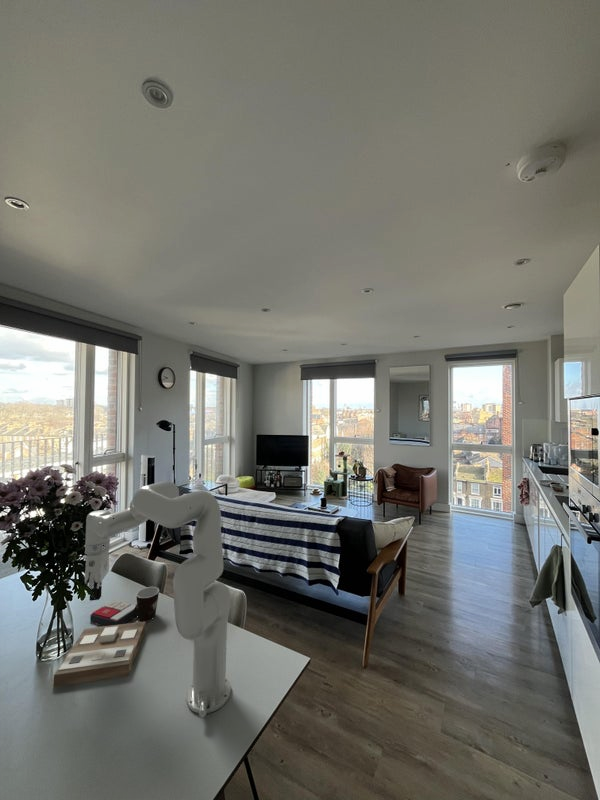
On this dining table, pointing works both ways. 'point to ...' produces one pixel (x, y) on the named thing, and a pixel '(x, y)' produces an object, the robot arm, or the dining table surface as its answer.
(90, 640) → the button
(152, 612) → the coffee mug
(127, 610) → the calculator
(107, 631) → the button
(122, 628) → the board
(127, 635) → the button
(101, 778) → the dining table surface
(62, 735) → the dining table surface
